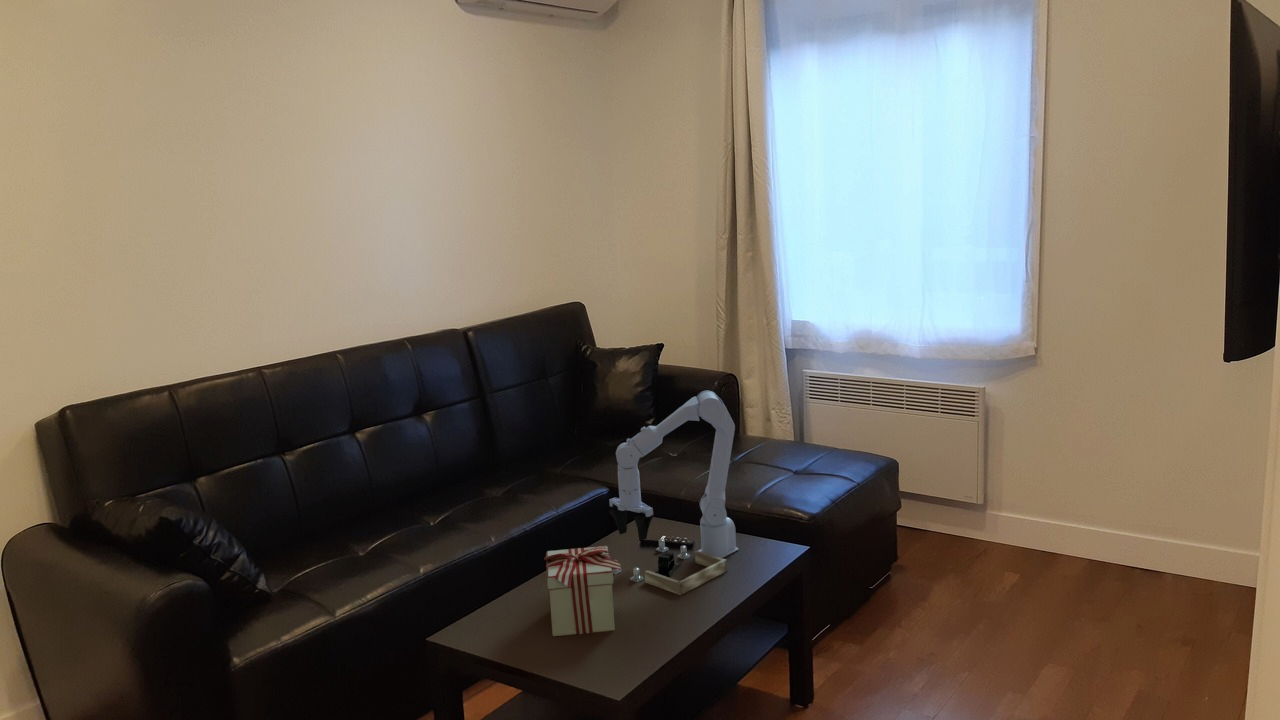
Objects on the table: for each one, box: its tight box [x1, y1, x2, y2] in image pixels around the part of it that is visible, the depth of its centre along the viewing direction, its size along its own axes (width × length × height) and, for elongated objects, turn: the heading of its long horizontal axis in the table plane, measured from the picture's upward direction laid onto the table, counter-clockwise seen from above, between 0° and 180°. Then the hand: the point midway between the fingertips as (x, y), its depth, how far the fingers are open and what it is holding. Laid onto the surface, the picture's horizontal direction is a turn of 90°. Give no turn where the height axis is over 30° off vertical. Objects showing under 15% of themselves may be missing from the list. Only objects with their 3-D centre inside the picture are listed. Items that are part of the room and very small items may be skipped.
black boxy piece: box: [653, 551, 683, 578], centre depth 247 cm, size 12×7×5 cm, turn 156°
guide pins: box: [612, 538, 691, 583], centre depth 250 cm, size 20×10×3 cm, turn 135°
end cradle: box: [644, 550, 728, 596], centre depth 241 cm, size 18×12×3 cm, turn 135°
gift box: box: [543, 545, 622, 637], centre depth 219 cm, size 17×18×17 cm
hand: (632, 536), depth 254 cm, fingers open, 7 cm apart
